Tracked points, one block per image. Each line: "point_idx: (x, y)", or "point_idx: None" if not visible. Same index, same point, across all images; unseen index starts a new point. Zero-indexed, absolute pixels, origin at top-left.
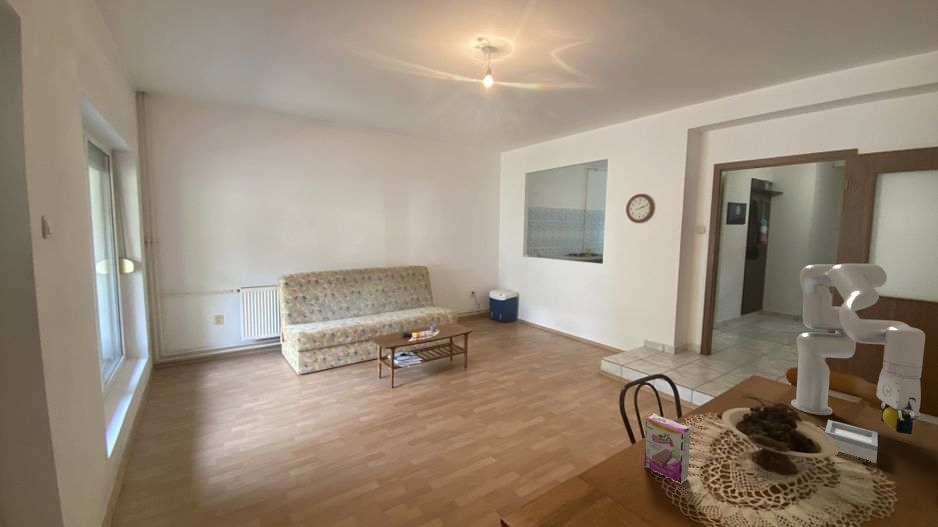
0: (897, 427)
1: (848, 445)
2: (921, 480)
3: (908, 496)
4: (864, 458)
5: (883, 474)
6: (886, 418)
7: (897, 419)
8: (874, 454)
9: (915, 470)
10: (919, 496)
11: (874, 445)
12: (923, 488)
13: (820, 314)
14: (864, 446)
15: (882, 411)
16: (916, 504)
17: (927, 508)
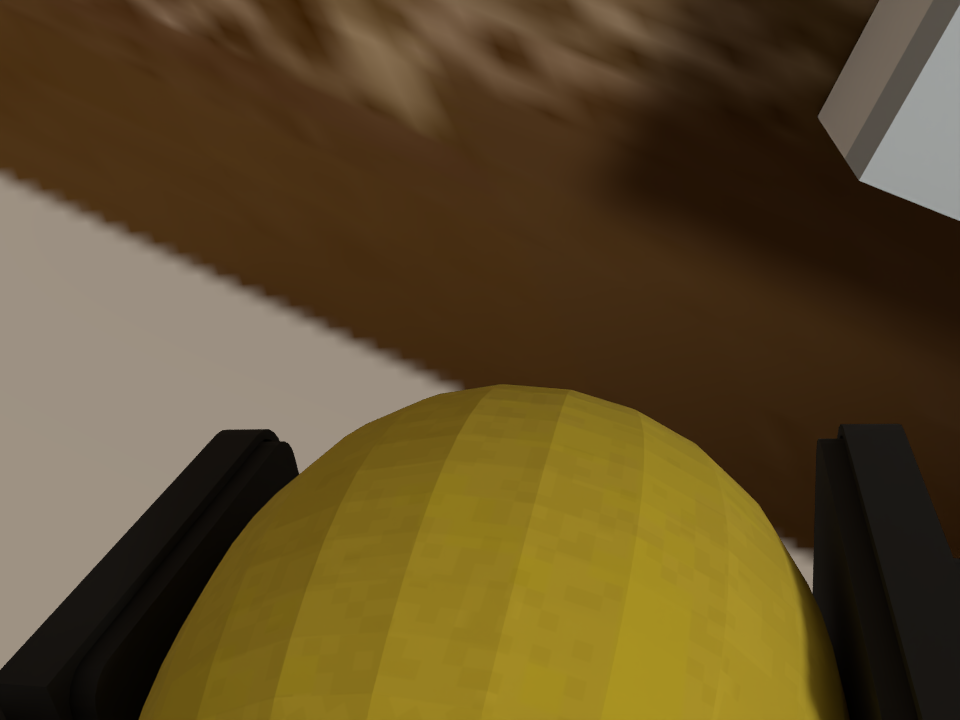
0: (168, 496)
1: None
2: (577, 391)
3: (173, 121)
4: (882, 7)
5: (546, 80)
6: (369, 468)
7: (33, 668)
8: (848, 120)
9: (786, 446)
10: (232, 220)
11: (881, 147)
12: (414, 329)
13: None
14: (930, 16)
15: (948, 652)
16: (62, 123)
17: (49, 182)
